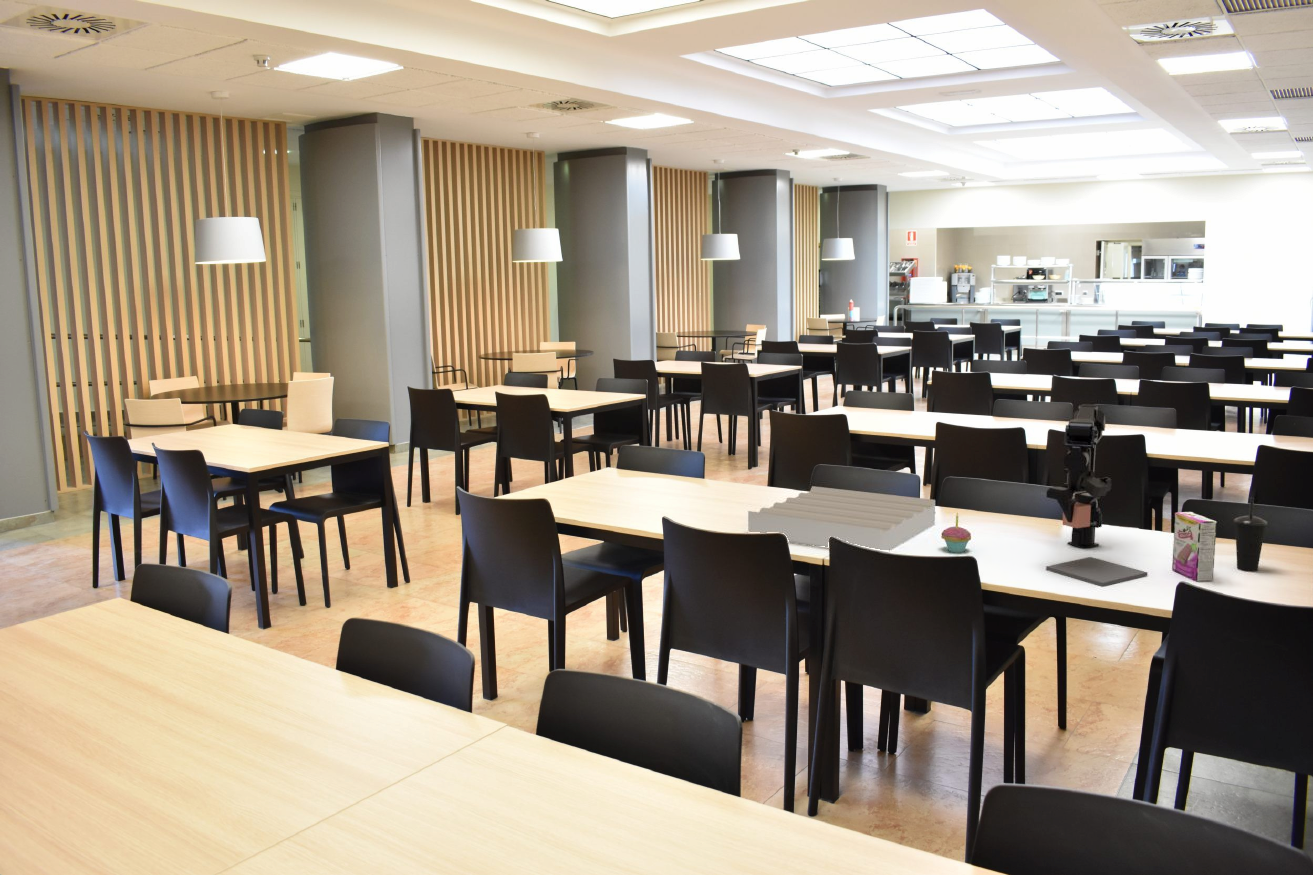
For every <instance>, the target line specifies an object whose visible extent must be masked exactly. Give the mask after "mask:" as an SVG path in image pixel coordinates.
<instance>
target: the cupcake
mask: <svg viewBox="0 0 1313 875" xmlns="http://www.w3.org/2000/svg"><path fill="white" fill-rule="evenodd" d="M958 513H959V512H957V513H956V515H955V526H950V527H948V528H945V529H943V530H942V532H941V536H940V537H941V539H943V540H944V542H945V544H946V548H947V550H948V551H949V552H952V553H963V552H965V550H966V547H967V545H968V543H969V541H971V540H972V536H971V535H972V534H971V532H970V531H969V530H968V529H966V528H964V527H960V526H959V514H958Z"/></svg>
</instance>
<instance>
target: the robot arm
mask: <svg viewBox="0 0 1313 875" xmlns="http://www.w3.org/2000/svg"><path fill="white" fill-rule="evenodd" d="M1064 429H1065V430H1064V438H1063V443H1062V444H1063V446H1062V447H1064V448H1068V452H1067V454H1066V455H1065V456H1064V458H1063V463H1064V464H1063V465H1064V466H1065V468H1064V470H1063V472H1064V474H1067V477H1066V478H1067V479H1066V483H1065V482H1064V483H1063V487H1062V486H1051V487H1050V486H1049V487H1048V488H1047V489H1046V492H1045V493H1046V495H1045V497H1046V498H1049V499H1053V500H1056V501H1057V503H1058V504H1059V506H1060V508H1061V510H1062V514H1063V513H1064V515H1065V517H1066V519H1067V521H1068V522H1070V523H1071V522H1072V518H1073V510H1074V504H1075V503H1076V502H1078V503H1083V504H1088V505H1091V512H1090V526H1088V527H1082V528H1074V527H1071V528H1072V530H1071V541H1068V542H1067V545H1071V546H1074V547H1078V548H1080V549H1081V548H1082V549H1088V548H1093V547H1094V548H1095V547H1097V546H1098V547H1099V546H1100V544H1099V543H1098V542H1095V540H1096V529H1099V528H1103V527H1102V526H1103V524H1102V523H1103V514H1102V511H1101V508H1100V507H1098V504H1099V503H1098V502H1099V501H1098V499H1100V498H1101V497H1106V496H1107V495H1109V494H1110V491H1111V490H1112V479H1111V478H1110V477H1107V476H1105V477H1102V478H1100V477H1098V478H1097V477H1095V466H1096V465H1095V464H1096V462H1095V461H1096V450H1097V448H1096V447H1097V445H1098V443H1099V441H1100V439H1102V438H1103V432H1105V430H1106V416H1105V413H1104V412H1103V411H1101V410H1100V409H1099V406H1098V405H1096V404H1081V405H1078V409H1077V410H1076V411H1075V412H1074V414H1073V419H1070V420H1069V421H1068V424H1066V425H1065V428H1064Z"/></svg>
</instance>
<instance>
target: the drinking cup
mask: <svg viewBox="0 0 1313 875" xmlns="http://www.w3.org/2000/svg"><path fill="white" fill-rule="evenodd" d="M1254 500H1255V499H1254V497H1250V503H1249V515H1242V516H1239V517H1235V518H1234V520H1233V521H1234V523H1235V526H1234V527H1235V544H1236V546H1235V550H1236V568H1237V569H1238V570H1239V571H1243V572H1258V570H1259V562H1260V558H1261V552H1262V547H1263V541H1264V535H1265V530H1266V526H1267V525H1268V522H1267V520H1265V519H1263V518H1261V517H1258V516H1255V515H1253V514H1254V513H1253V512H1254Z"/></svg>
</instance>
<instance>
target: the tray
mask: <svg viewBox="0 0 1313 875" xmlns="http://www.w3.org/2000/svg"><path fill="white" fill-rule="evenodd" d="M935 518H936V499H929V498H922V497H912V496H904V495H903V496H902V495H895V494H885V493H878V492H877V493H876V492H867V491H857V490H850V489H840V488H832V487H831V488H830V487H823V486H811V488H810V490H809V491H808V492H800V493H798V495H797V496H796V497H789V496H788V497H787V498H786V500H785V501H783V502H777V501H776V502H774V503H773V506H770V507H761V508H760V509H759V511H752V510H748V511H747V522H748V523H747V525H748V529H747V530H748V531H749V532H760V533H767V532H779V533H784V534H785V535H786V536H787V538H788V540H789V542H790V543H789V544H794V543H798V544H797V545H801V544H806V545H805V546H808V545H814V546H825V547H828V542H829V537H830V536H835V537H838V538H840V539H842V540H844V541H848V542H849V543H852V544H857V545H860V546H865V547H869V548H875V549H880V550H889V552H891V551H892V550H894V549H896V548H897V547H899V546H901V545H902V544H904V543H906V542H908V541H909V540H911V539H914V538H915V537H916V536H918V535H920V534H921V533H923V532H925V531H926V530H928V529H930V528H932V527H933V526H935V525H936V524H935V523H936V522H935V520H936V519H935ZM814 546H813V547H814ZM890 550H891V551H890Z"/></svg>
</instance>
